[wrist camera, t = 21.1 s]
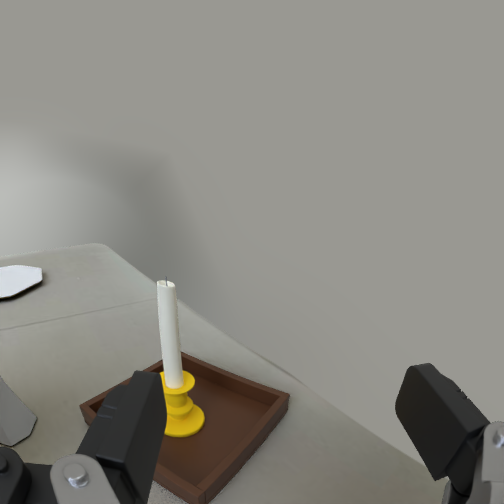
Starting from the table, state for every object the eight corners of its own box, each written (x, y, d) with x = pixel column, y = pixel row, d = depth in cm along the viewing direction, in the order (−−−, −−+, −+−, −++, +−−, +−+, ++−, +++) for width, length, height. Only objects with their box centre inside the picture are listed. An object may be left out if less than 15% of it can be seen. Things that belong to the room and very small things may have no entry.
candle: (202, 403, 29) (197, 266, 26) (207, 436, 24) (200, 287, 21) (155, 404, 28) (138, 267, 25) (153, 438, 23) (127, 287, 20)
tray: (179, 365, 37) (178, 349, 36) (287, 410, 29) (290, 393, 29) (85, 422, 24) (78, 405, 23) (200, 510, 16) (198, 497, 16)
